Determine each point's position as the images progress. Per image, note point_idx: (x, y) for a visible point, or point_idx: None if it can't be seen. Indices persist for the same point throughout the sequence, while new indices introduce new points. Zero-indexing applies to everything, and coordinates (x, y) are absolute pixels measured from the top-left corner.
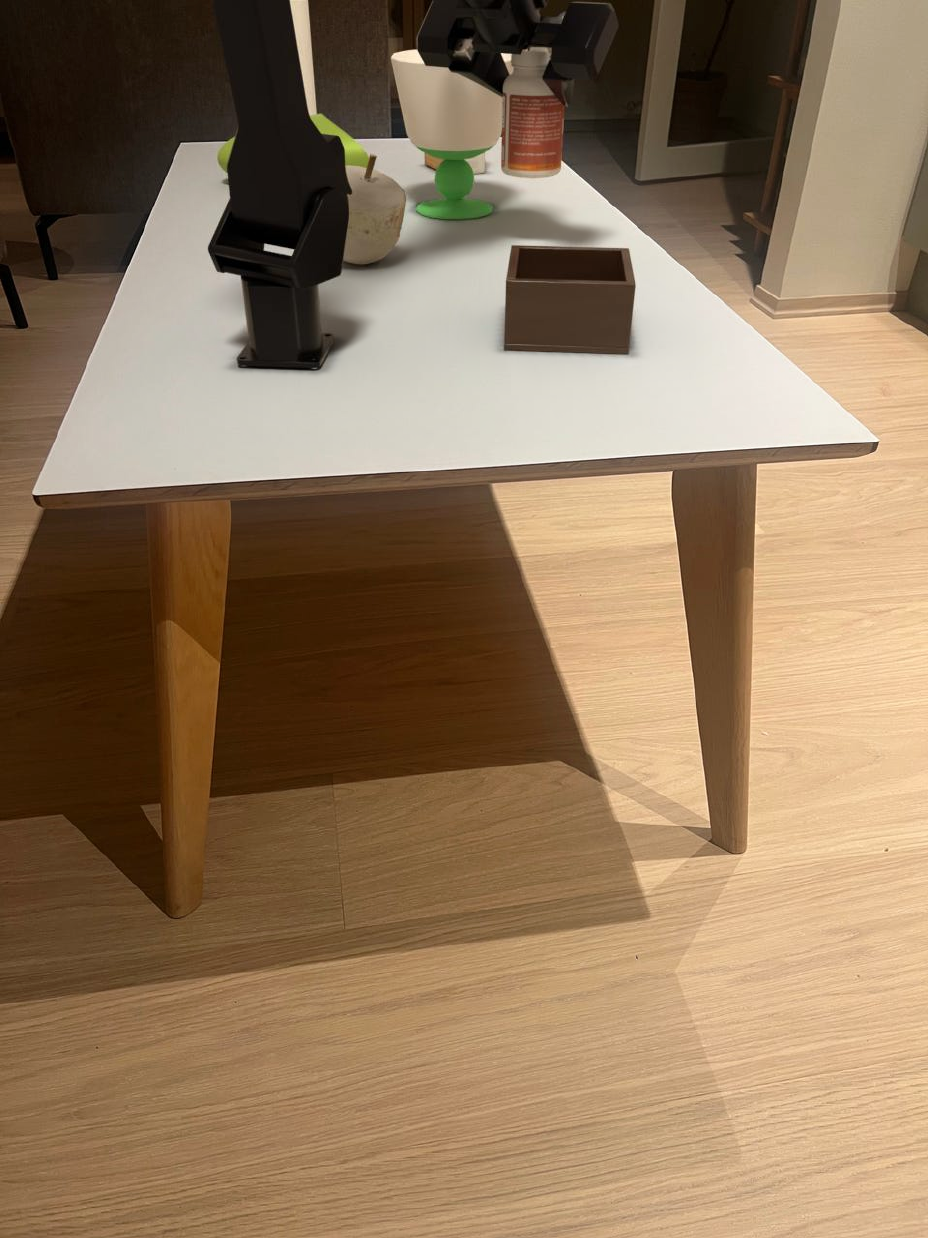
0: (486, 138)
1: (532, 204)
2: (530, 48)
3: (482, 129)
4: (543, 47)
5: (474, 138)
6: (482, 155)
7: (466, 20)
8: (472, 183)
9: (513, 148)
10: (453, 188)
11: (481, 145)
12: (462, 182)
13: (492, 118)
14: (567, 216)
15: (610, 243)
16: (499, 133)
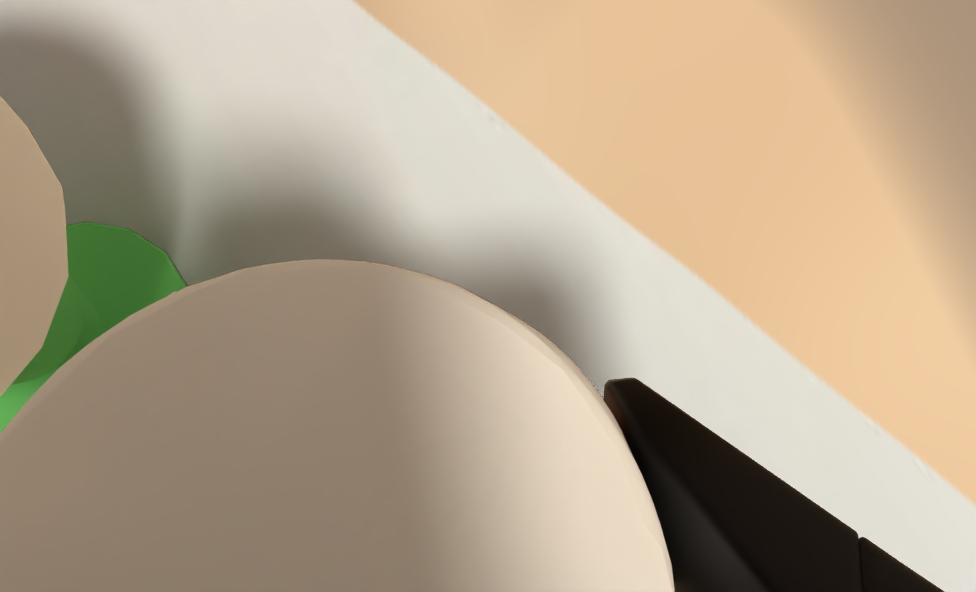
0: (46, 305)
1: (244, 146)
2: (159, 566)
3: (8, 333)
4: (243, 287)
5: (7, 372)
6: None
7: None
8: (76, 296)
9: None
10: (41, 373)
11: (47, 325)
12: (55, 349)
13: (3, 261)
14: (396, 194)
15: (647, 356)
16: (57, 201)
